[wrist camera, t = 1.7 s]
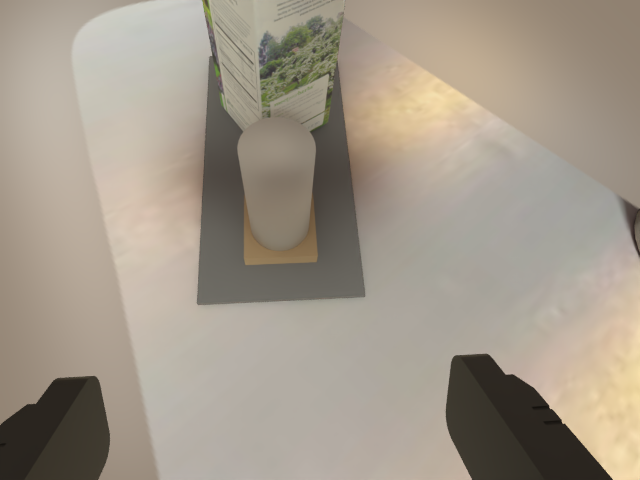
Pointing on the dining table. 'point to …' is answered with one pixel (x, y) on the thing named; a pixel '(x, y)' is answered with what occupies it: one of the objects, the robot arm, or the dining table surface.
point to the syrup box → (275, 57)
